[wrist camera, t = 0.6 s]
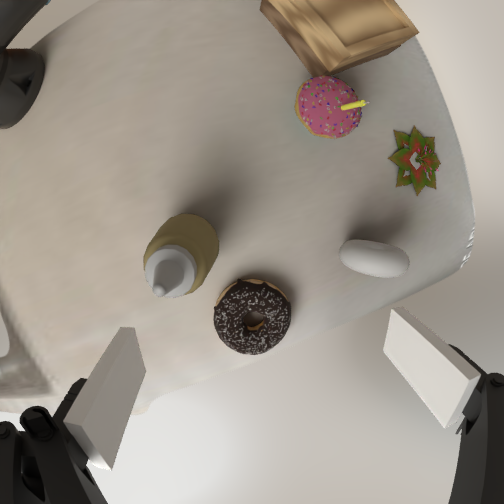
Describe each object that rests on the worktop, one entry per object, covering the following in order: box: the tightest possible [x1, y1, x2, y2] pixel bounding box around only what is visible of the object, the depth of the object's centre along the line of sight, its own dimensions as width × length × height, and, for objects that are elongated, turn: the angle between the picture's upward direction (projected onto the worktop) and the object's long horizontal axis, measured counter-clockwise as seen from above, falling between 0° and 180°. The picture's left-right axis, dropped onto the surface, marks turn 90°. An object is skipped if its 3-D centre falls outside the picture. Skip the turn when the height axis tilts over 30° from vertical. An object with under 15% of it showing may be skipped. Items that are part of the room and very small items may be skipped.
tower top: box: [268, 0, 419, 72], centre depth 24 cm, size 15×15×5 cm
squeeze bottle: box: [144, 214, 219, 298], centre depth 29 cm, size 8×8×18 cm
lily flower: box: [388, 126, 441, 196], centre depth 35 cm, size 12×12×5 cm
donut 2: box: [339, 240, 410, 278], centre depth 35 cm, size 10×3×10 cm, turn 84°
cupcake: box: [295, 75, 370, 138], centre depth 29 cm, size 9×8×12 cm
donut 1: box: [214, 279, 291, 355], centre depth 39 cm, size 11×12×4 cm
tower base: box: [260, 0, 401, 78], centre depth 29 cm, size 15×15×5 cm
